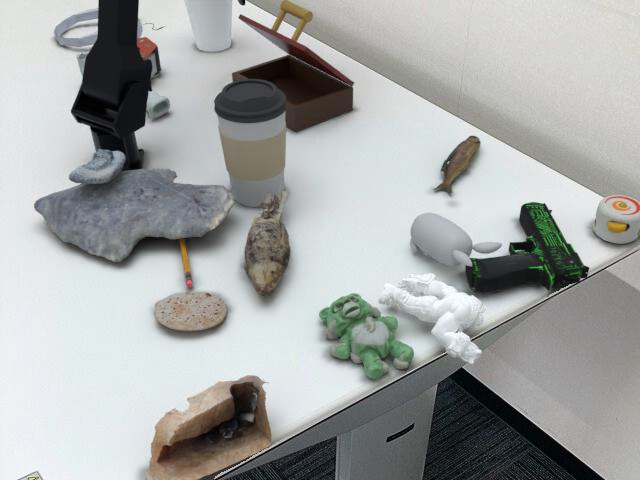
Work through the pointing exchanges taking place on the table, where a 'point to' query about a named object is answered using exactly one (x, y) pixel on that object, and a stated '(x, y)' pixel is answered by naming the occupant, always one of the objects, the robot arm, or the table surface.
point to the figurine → (439, 311)
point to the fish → (459, 161)
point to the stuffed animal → (364, 335)
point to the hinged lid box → (303, 90)
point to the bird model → (268, 245)
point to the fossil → (99, 168)
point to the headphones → (86, 39)
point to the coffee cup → (253, 138)
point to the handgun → (530, 257)
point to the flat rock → (133, 211)
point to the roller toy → (618, 219)
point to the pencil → (186, 263)
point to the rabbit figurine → (445, 240)
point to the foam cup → (210, 23)
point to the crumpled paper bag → (211, 431)
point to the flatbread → (190, 311)
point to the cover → (295, 39)
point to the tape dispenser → (150, 51)
